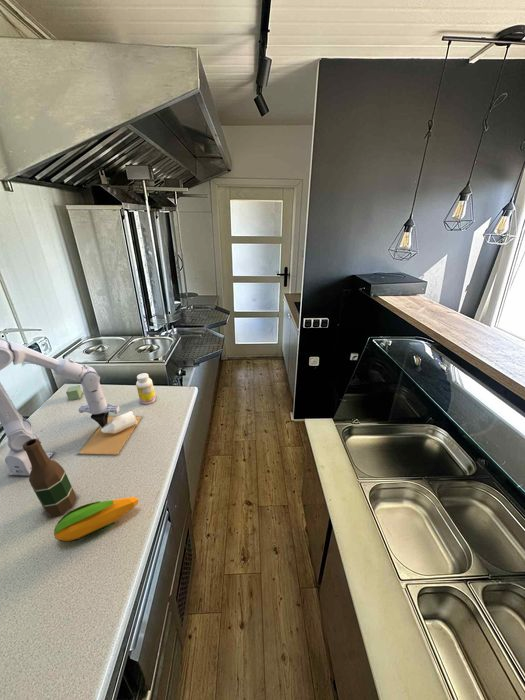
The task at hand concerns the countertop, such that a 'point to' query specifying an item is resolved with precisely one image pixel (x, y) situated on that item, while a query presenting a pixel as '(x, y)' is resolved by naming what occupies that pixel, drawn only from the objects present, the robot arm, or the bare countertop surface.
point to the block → (74, 392)
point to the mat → (107, 441)
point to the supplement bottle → (145, 388)
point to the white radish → (120, 423)
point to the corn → (92, 518)
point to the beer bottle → (49, 480)
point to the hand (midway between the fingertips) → (105, 426)
